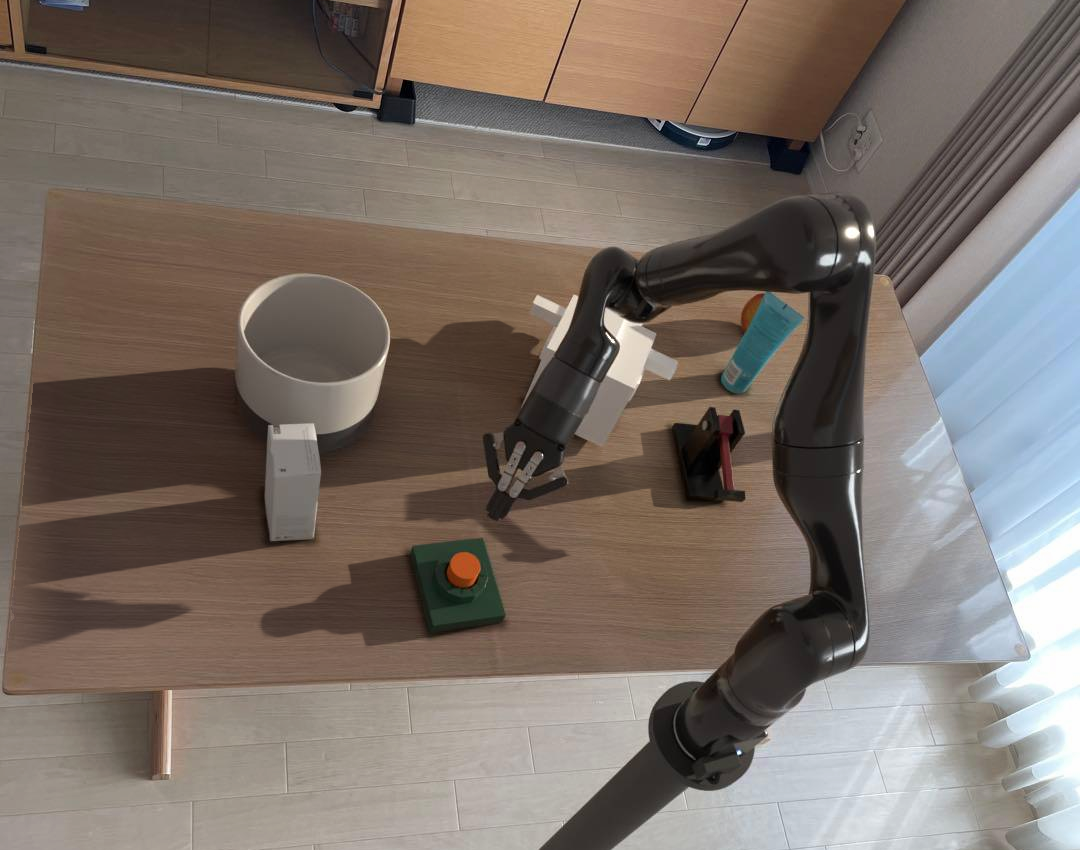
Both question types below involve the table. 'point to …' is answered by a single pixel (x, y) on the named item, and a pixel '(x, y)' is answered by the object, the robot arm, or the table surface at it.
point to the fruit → (750, 310)
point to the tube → (760, 342)
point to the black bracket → (703, 454)
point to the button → (463, 570)
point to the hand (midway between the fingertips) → (492, 518)
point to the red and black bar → (727, 463)
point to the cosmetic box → (292, 481)
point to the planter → (310, 358)
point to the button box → (452, 603)
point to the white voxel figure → (619, 377)
